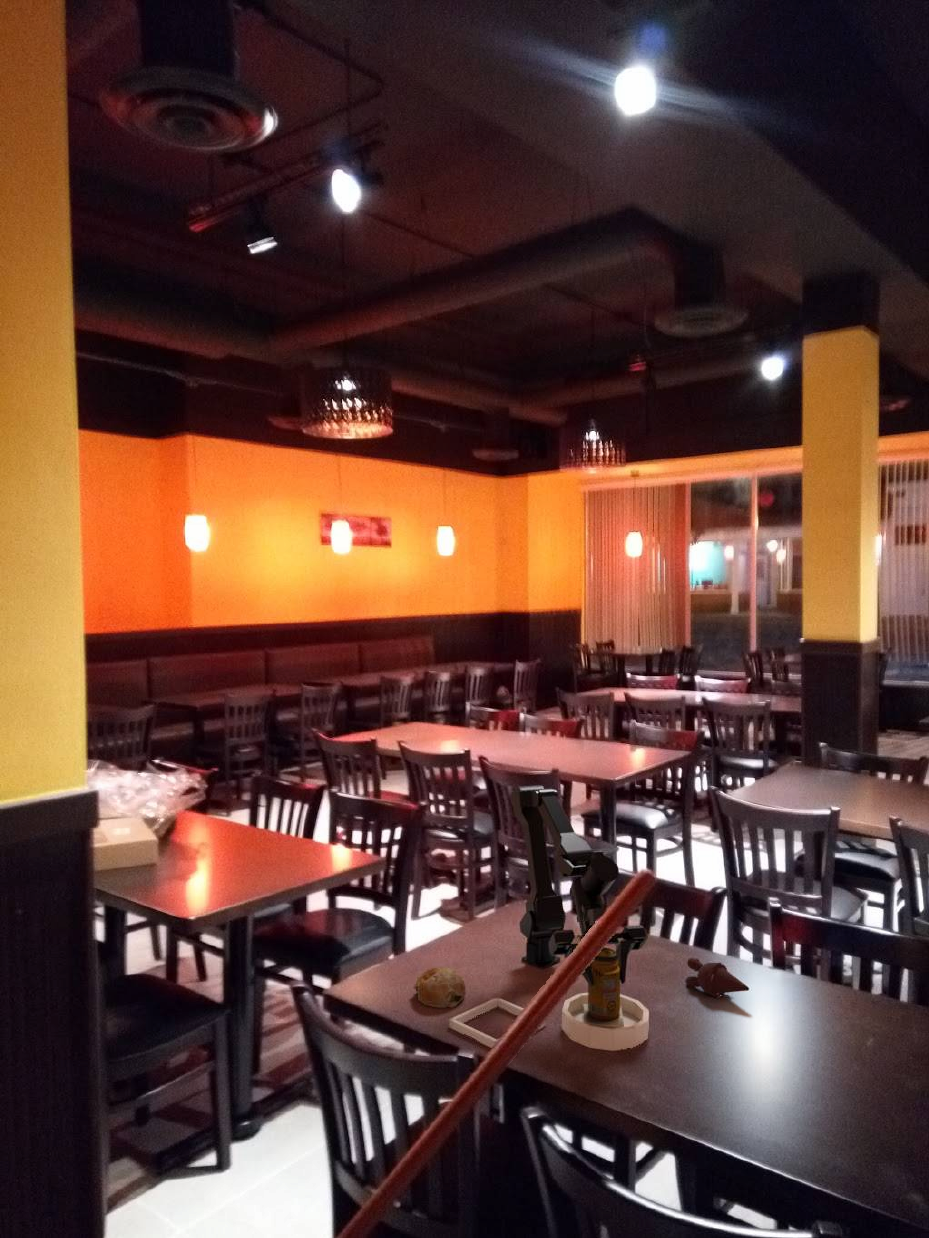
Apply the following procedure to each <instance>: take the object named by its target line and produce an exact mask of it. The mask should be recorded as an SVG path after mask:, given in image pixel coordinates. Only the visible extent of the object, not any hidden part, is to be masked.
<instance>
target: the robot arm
mask: <svg viewBox="0 0 929 1238" xmlns="http://www.w3.org/2000/svg"><path fill="white" fill-rule="evenodd" d="M510 805H511V806H512V810H513V814H514V816H515V818H516V819H517V820H518V821H519V823H520V824H521V825H522V828H523V835H524V836H523V837H524V847H525V851H526V852H525V853H526V860H527V867H528V868H527V869H528V876H529V877H528V878H529V884H530V893H529V895H528V898H527V901H526V903H525V913H524V914H523V916H522V918H521V920H520V921H519V931H520V933H521V934H522V935H523V936H524V937H526V944H525V945H526V947H525V948H526V949H525V950H526V951H525V952H526V954H525V955H524V956H522V957H521V961H523V962H526V963H529V964H531V965H533V966H537V967H539V968H542V969H545V968H546V967H548V966H551V965H553V964H556V963H557V962H560V961H561V959H562V958H561V957H559V956H562V955H563V956H564V959H566V958H567V957H568V956H569V955H570V954H571V953H572V952H573V950H574V949H575V948H576V946H577V945H578V943H579V942H580V941H581V939H582V938H583V937H584V936H585V934H586V933H587V932H588V930H589V929H590V928H591V927H592V926H593V925H594V924H595V921H596V919H597V918H598V917H600V916H601V915H602V914H603V912H604V911H605V909H606V907H608V905H607V903H604V902H605V901H604V897H603V895H604V894H605V893H607V891H608V890H609V889H610V887H611V886H612V885H613V884H614V883H615V881H616V880H617V879H618V877H619V874H620V870H619V866H618V864H617V863H616V862H615V861H614V860H613V859H612V858H611V857H609V856H606V855H605V854H604V852H603V850H599V851H598V850H597V851H593V849H592V848H591V846H590V845H589V844H588V842H587V840H585V839H583V838H581V837H580V836H578V835H577V834H576V832H575V830H574V828H573V825H572V824H571V822H570V820H569V818H568V815H567V814H566V813H565V810H564V808H563V806H562V804H561V802H560V800H559V794H558V791H557V790H556V789H553V788H545V787H544V786H543V785H542V784H538V785H536V784H535V785H525V786H522V785H521V786H516V787H514V790H513V791H512V792H511V793H510ZM545 826H546V829H547V831H548V833H549V835H550V837H551V839H552V841H553V843H554V845H555V848H556V852H555V855H554V856H555V857H554V860H555V862H556V868H557V870H558V872H560V875H561V876H562V877H563V878H573V877H574V878H575V880H573V881H572V884H571V885H570V888H569V895H572V896H573V900H574V905H575V909H576V918H575V919H576V922H577V923H578V924H579V929H580V934H581V935H580V934H575V931H574V929H572V928H571V929H564V928H565V923H566V918H567V916H566V912H565V908H564V904H563V901H564V900H563V898H562V896H561V895H560V894H559V895H558V894H557V892H556V891H555V890H554V888H553V885H552V884H553V883H552V876H551V869H550V868H551V867H550V862H549V861H550V860H549V853H548V847H547V838H546V832H545ZM576 877H577V878H576ZM648 939H649V936H648V932H647V929H646V928H645V927H644V926H643V925H640V924H638V925H625V927H624V928H623V930H622V931H621V932H616V933H615V935H614V936H612V938H611V939H610V940H609V941H608V942H607V944H606V945H615V948H616V949H615V951H616V952H617V954H618V966H619V968H620V984H621V985H625V983H626V977H627V975H626V974H627V962H628V958H629V956H628V955H629V954H630V952H631V951H638V950H641V949H642V948H643V947H644V945H645V943H646V942H647V941H648ZM581 975H582V977H583V978H584V980H585V981H586V983H587V985H588V984H589V985H590V986H593V978H592V974H591V970H590V967H589V966H588V967H587V968H586V969H585V972H584V973H583V974H581Z"/></svg>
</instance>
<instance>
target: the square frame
mask: <svg viewBox="0 0 929 1238" xmlns="http://www.w3.org/2000/svg"><path fill="white" fill-rule="evenodd" d="M496 1006H500V1007H502V1008H504V1009H505V1010H507V1011H508V1013H510V1014H512V1015H514V1016H517V1015H518V1014H519V1013H520V1012H521V1011H522V1010H523V1009H525V1008H523V1007H521V1006H518V1005H516V1004H514V1003H512V1002H509V1001H507V1000H505V999H502V998H500V997H497V996H496V997H494V998H492V999H490V1000H488V1001H486V1002H483V1003H481V1004H479V1005H477V1006H475V1007H473V1008H471V1009H468V1010H466V1011H464V1012H462V1013H460V1014H458V1015H455V1016H453V1017H452V1018H449V1019H448V1028H449V1029H452V1030H454V1031H456V1032H457V1033H460V1034H462V1035H464V1034H466V1035H468V1036H471V1037H472V1038H474V1039H476V1040H477V1041H476V1040H475V1041H476V1042H478V1041H479V1042H478V1043H480V1044H482V1045H484V1046H487V1047H488V1048H491V1049H492V1047H493V1046H494V1045H495V1044H497V1042H498V1040H499V1039H500V1038H499V1039H496V1038H495V1037H493V1036H490V1035H489V1034H486V1033H484V1032H482V1031H480V1030H477V1029H476V1028H475V1027H472V1026H470V1025H467V1024H466V1023H467V1022H469V1021H471V1020H472V1018H473V1019H475V1018H477V1017H478V1016H477V1015H480V1014H482V1015H484V1014H485V1012H486V1013H488V1012H490V1011H491V1010H490V1009H492V1008H494V1007H496ZM496 1008H497V1007H496ZM494 1009H495V1008H494ZM489 1010H490V1011H489ZM492 1010H493V1009H492ZM505 1010H504V1011H505ZM487 1011H488V1012H487ZM507 1011H506V1012H507ZM483 1013H484V1014H483ZM476 1016H477V1017H476ZM480 1016H481V1015H480ZM474 1017H475V1018H474ZM517 1017H518V1016H517ZM470 1019H471V1020H470ZM468 1020H469V1021H468ZM464 1022H465V1023H464ZM546 1022H547V1020H546V1021H545V1022H544V1024H542V1025H541V1027H540V1028H539V1029H538V1030H537V1031H539V1030H541V1029H542V1028H544V1027H546V1025H547V1023H546ZM466 1035H465V1036H466ZM468 1036H467V1037H468ZM472 1038H471V1039H472ZM474 1039H473V1040H474Z"/></svg>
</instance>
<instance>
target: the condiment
mask: <svg viewBox="0 0 929 1238" xmlns="http://www.w3.org/2000/svg"><path fill="white" fill-rule="evenodd" d="M602 948H603V949H602V950H601V952H600V953H599V954H598V955H597V956H596V957H595V959H594V961H593V962H592V963H591V964H590V963H589V964H590V966H589V967H590V970H591V974H592V978H593V986H590V985H589V984H588V983H587V993H588V1004H584V1023H585V1024H587V1025H594V1026H606V1027H624V1022H623V1014H622V1006H620V994H621V981H620V968H619V966H618V954H617V952H616V949H612V948H609V947H608V948H607V947H602Z"/></svg>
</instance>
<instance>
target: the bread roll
mask: <svg viewBox="0 0 929 1238" xmlns="http://www.w3.org/2000/svg"><path fill="white" fill-rule="evenodd" d="M413 989H415V992H416V993H415V996H416V997H417V1000H418V1001H419V1002H420V1003H422V1004H423V1005H424V1006H428V1007H432V1008H438V1009H444V1008H455V1007H456V1006H457V1005H458V1004H459V1003H461V1001H462V1000H463V999H465V997H466V991H467V990H466V983H465V982H464V980H463V978H462V976H461V975H460V974H458V973H457V972H456V970H455V969H454V968H449V967H446V966H436V967H431V968H430V969H426V971H424V972H423V973H421V975H420V976H418V977H417V981H416V982H414V984H413Z"/></svg>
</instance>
